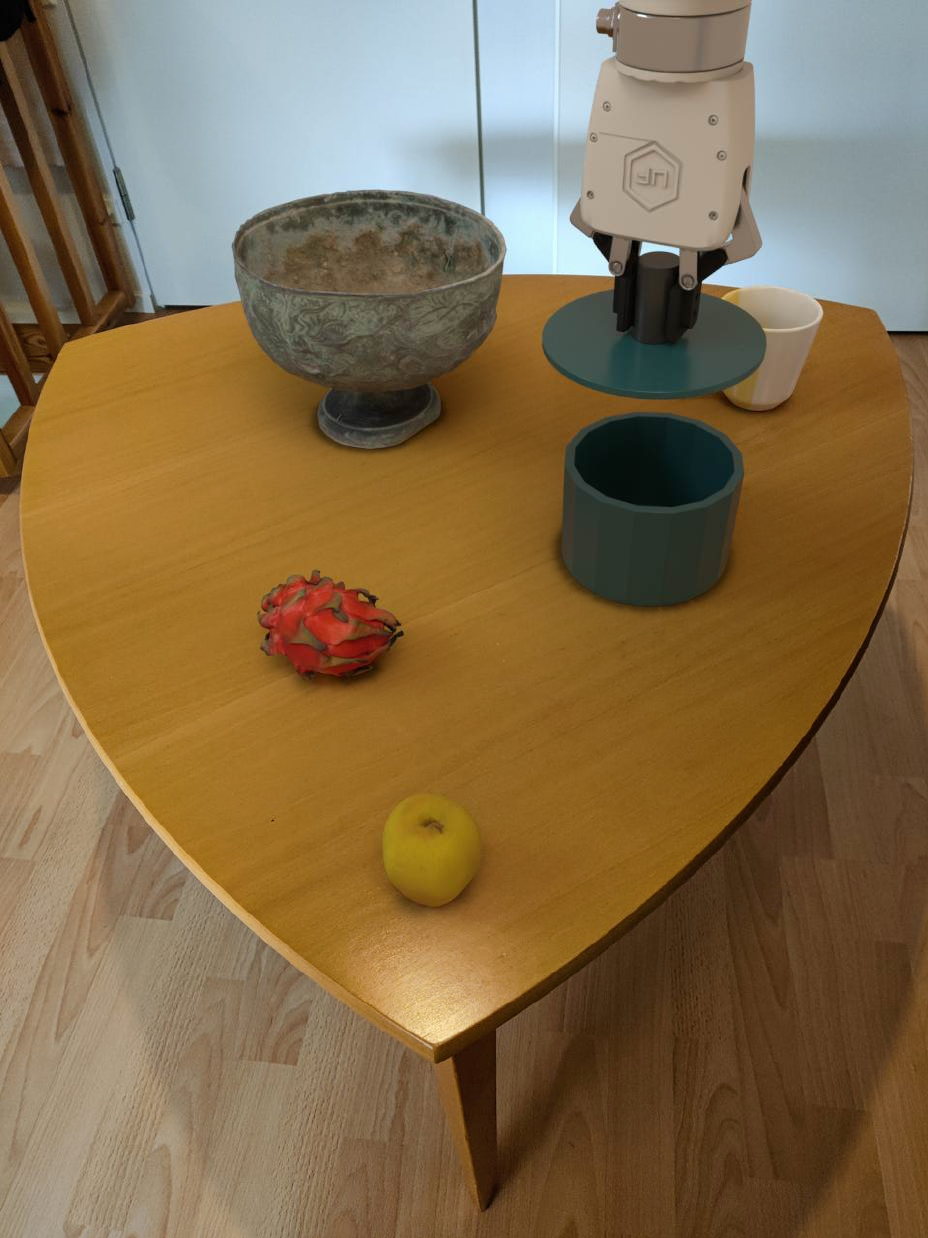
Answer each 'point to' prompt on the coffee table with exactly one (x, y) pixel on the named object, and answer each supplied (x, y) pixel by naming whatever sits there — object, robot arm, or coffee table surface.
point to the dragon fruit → (325, 626)
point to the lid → (653, 341)
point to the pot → (649, 507)
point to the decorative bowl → (370, 301)
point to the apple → (431, 848)
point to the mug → (776, 343)
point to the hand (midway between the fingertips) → (653, 326)
